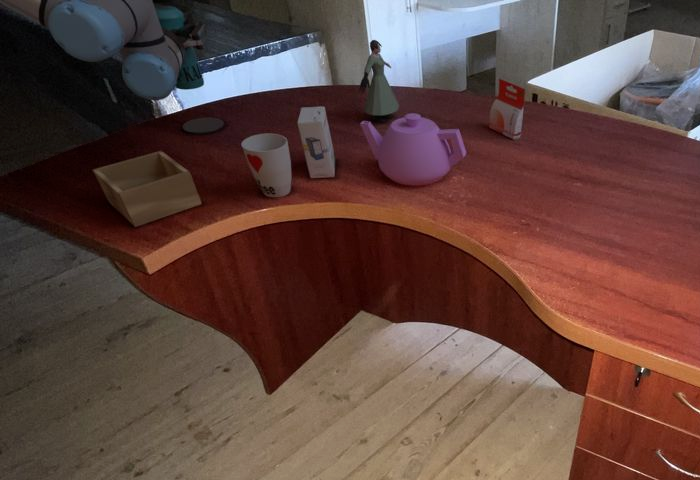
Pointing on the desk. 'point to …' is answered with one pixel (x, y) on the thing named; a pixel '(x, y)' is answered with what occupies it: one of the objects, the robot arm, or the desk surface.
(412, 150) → the teapot
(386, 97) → the character figurine
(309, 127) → the ink box
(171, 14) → the beverage bottle
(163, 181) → the crate
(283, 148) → the cup
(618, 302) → the desk surface
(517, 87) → the ink box
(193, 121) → the coaster
